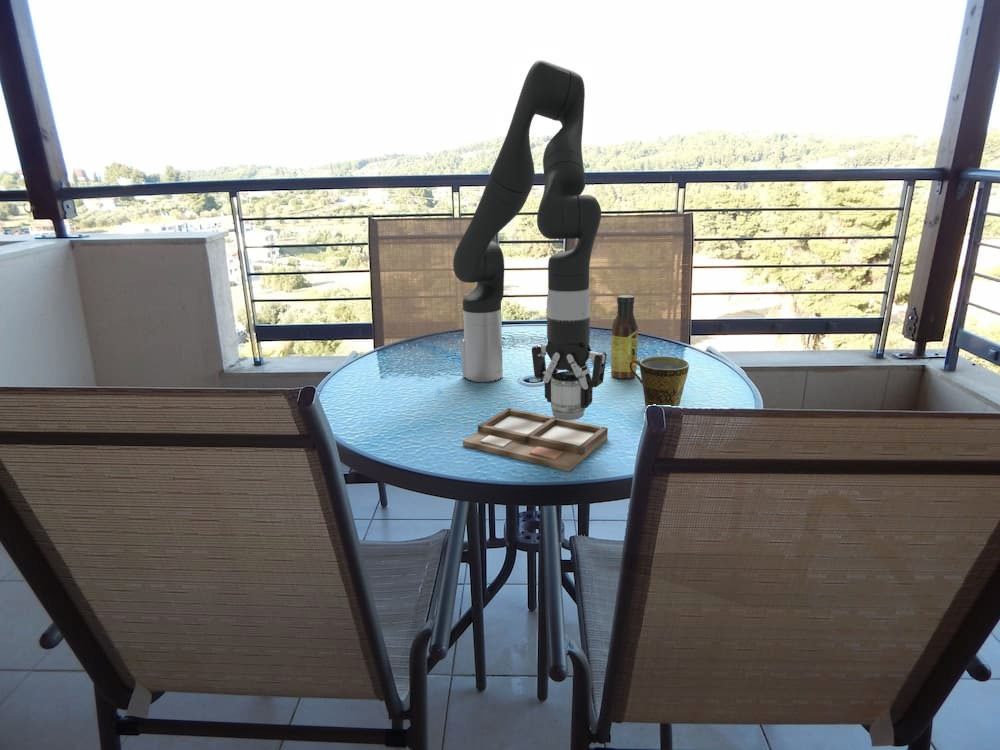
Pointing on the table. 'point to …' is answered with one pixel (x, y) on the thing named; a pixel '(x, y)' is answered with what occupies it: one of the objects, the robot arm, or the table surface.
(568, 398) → the camera lens
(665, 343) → the table surface
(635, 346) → the sauce bottle
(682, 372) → the ceramic cup
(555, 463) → the board
